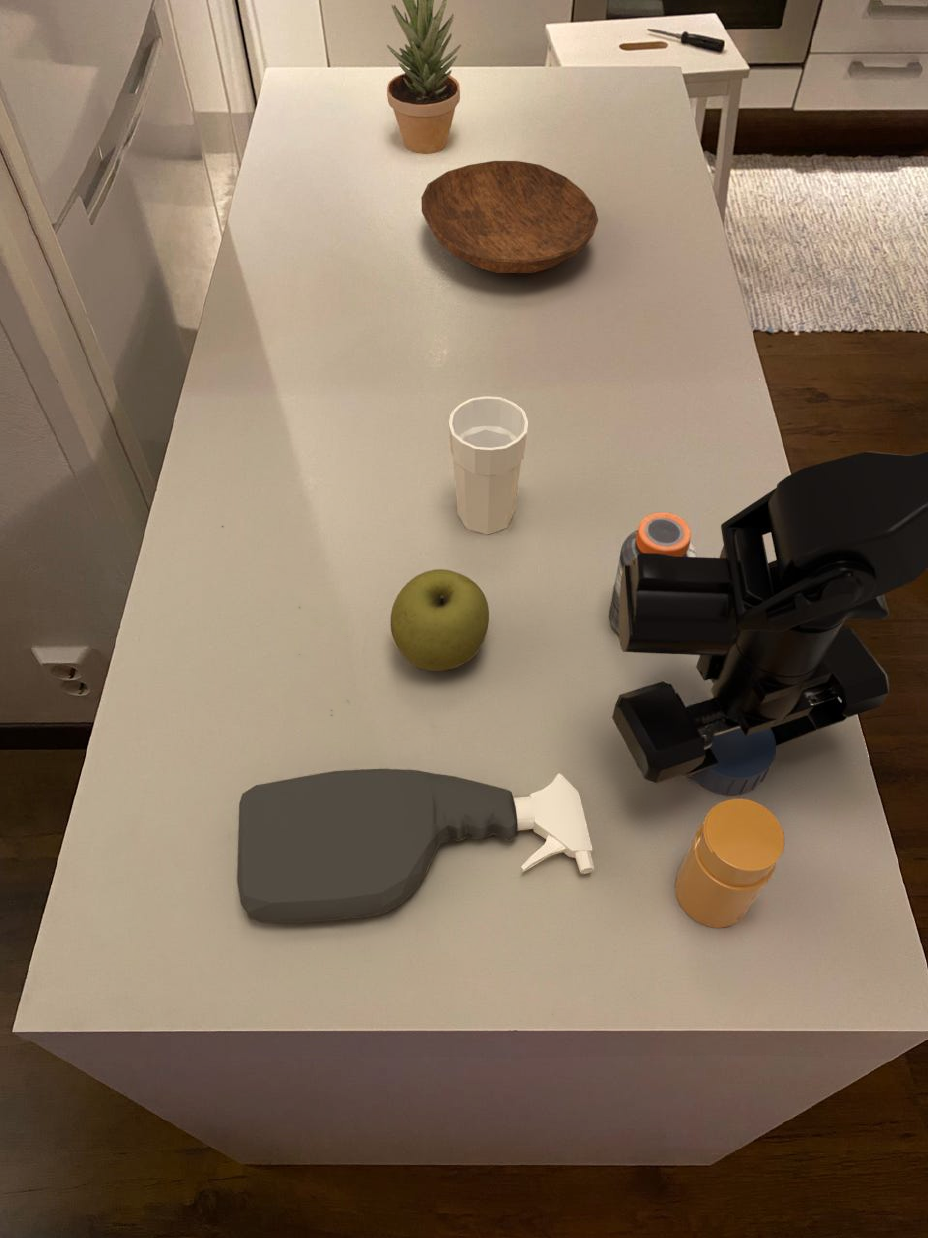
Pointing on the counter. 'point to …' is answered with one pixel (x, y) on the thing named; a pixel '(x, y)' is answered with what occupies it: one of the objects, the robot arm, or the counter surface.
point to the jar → (729, 862)
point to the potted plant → (424, 79)
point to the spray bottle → (380, 837)
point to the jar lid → (739, 762)
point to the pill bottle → (651, 548)
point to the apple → (439, 620)
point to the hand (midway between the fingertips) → (723, 758)
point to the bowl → (509, 215)
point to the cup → (487, 460)
